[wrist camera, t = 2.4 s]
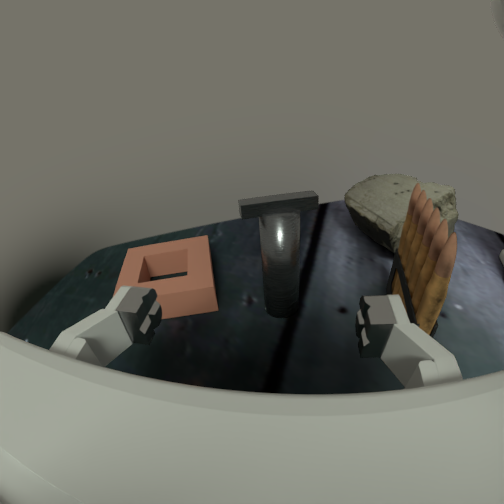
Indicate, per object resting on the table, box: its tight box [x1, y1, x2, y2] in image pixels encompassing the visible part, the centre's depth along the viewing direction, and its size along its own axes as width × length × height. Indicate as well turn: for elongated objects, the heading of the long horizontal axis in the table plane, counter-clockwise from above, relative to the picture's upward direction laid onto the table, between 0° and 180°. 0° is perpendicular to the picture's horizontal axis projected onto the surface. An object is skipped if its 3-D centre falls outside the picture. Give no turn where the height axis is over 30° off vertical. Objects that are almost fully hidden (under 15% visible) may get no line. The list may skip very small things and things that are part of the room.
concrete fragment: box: [345, 174, 458, 254], centre depth 34 cm, size 15×10×15 cm
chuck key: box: [238, 191, 318, 318], centre depth 24 cm, size 6×3×11 cm, turn 101°
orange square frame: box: [113, 235, 218, 319], centre depth 30 cm, size 10×10×3 cm
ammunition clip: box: [386, 183, 457, 338], centre depth 20 cm, size 11×2×12 cm, turn 166°
